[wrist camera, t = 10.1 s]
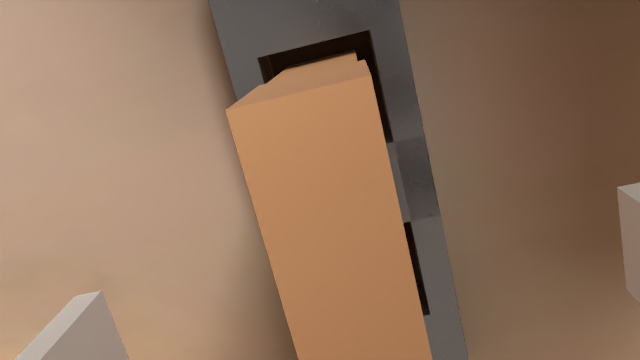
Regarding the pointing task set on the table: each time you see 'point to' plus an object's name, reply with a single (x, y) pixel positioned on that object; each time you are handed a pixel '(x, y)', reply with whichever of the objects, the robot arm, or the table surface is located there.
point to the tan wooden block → (330, 212)
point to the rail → (401, 137)
